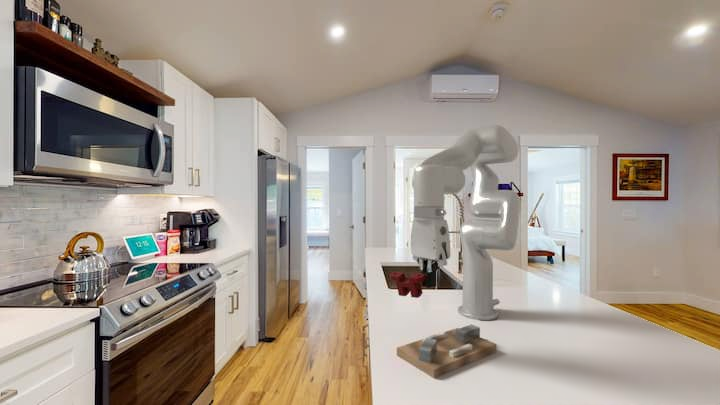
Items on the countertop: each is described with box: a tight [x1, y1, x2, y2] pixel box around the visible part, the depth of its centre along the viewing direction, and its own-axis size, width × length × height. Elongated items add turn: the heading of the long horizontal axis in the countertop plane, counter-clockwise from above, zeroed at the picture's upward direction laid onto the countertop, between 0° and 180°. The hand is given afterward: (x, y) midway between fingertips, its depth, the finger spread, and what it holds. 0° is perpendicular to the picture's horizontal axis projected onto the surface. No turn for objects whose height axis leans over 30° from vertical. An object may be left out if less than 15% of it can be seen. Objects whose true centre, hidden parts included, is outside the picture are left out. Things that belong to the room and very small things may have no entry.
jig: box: [396, 324, 497, 379], centre depth 77 cm, size 22×12×4 cm, turn 123°
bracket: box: [389, 271, 426, 299], centre depth 82 cm, size 3×6×10 cm
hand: (429, 286), depth 80 cm, fingers closed on bracket
